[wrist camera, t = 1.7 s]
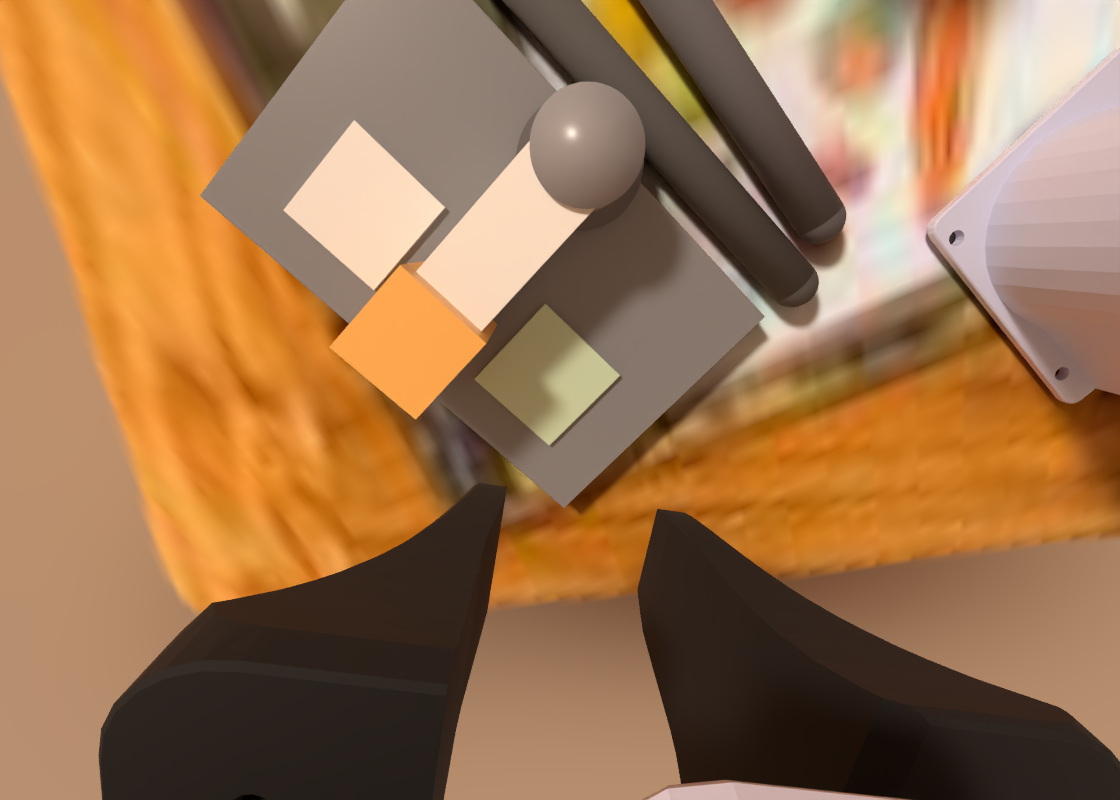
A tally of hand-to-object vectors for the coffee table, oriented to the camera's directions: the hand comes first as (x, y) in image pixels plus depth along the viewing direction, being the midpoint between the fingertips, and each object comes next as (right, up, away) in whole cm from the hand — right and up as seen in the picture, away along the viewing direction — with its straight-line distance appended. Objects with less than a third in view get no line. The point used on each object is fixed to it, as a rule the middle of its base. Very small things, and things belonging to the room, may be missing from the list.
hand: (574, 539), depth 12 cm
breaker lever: (-2, +8, +6) cm, 10 cm away
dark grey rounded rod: (+5, +13, +6) cm, 15 cm away
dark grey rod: (+3, +12, +6) cm, 14 cm away
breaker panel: (-2, +8, +7) cm, 11 cm away
